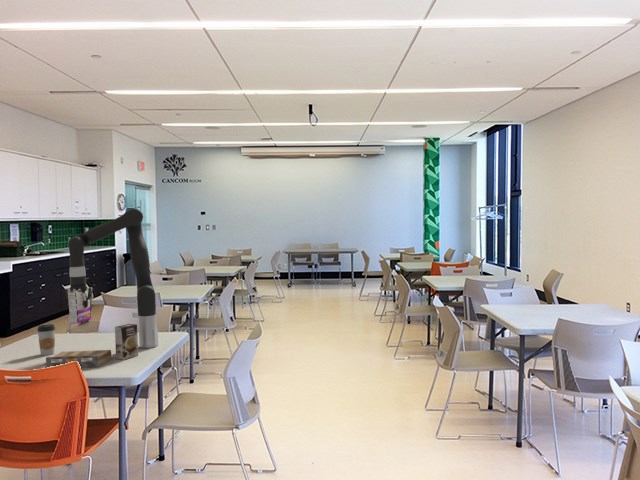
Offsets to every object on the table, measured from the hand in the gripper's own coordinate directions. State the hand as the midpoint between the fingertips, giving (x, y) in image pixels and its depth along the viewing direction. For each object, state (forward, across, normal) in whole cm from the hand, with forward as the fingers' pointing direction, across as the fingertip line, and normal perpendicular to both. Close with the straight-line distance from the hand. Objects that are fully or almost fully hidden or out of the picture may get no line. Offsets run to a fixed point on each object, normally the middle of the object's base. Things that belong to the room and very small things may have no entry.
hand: (79, 307), depth 275 cm
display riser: (+24, -6, +16) cm, 30 cm away
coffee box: (+25, -26, +8) cm, 37 cm away
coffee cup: (+25, +20, -5) cm, 32 cm away
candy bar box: (+7, 0, 0) cm, 7 cm away
